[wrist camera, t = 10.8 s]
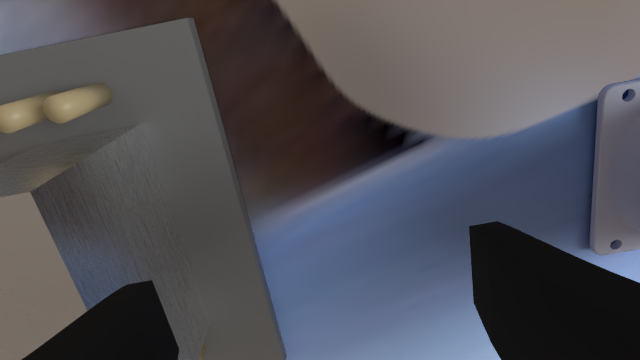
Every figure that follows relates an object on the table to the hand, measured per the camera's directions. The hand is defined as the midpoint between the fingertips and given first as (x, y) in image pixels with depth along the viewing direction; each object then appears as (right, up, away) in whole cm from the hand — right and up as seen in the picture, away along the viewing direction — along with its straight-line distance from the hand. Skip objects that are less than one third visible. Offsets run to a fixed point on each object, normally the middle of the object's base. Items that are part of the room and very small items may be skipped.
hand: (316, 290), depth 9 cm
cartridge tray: (-8, 0, +10) cm, 13 cm away
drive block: (-8, 0, +9) cm, 12 cm away
